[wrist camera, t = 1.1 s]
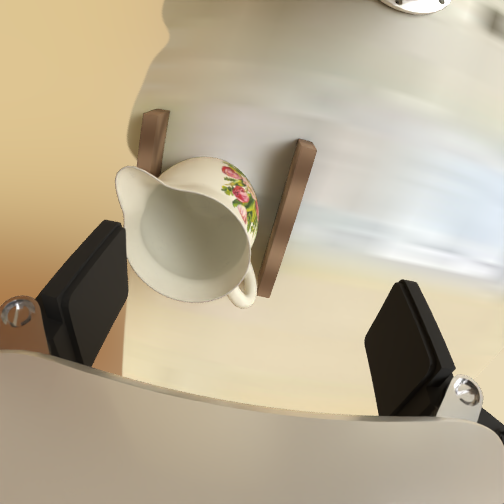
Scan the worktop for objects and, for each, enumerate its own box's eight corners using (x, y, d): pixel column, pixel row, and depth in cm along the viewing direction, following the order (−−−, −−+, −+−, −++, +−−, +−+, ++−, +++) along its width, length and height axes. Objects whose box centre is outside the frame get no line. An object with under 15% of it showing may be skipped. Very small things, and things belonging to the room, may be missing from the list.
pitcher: (219, 275, 42) (199, 355, 30) (136, 158, 35) (74, 205, 23) (296, 240, 39) (304, 318, 27) (216, 106, 31) (181, 126, 20)
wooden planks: (157, 108, 32) (143, 113, 28) (312, 142, 33) (317, 150, 29) (141, 248, 41) (130, 265, 37) (269, 278, 42) (269, 298, 38)
